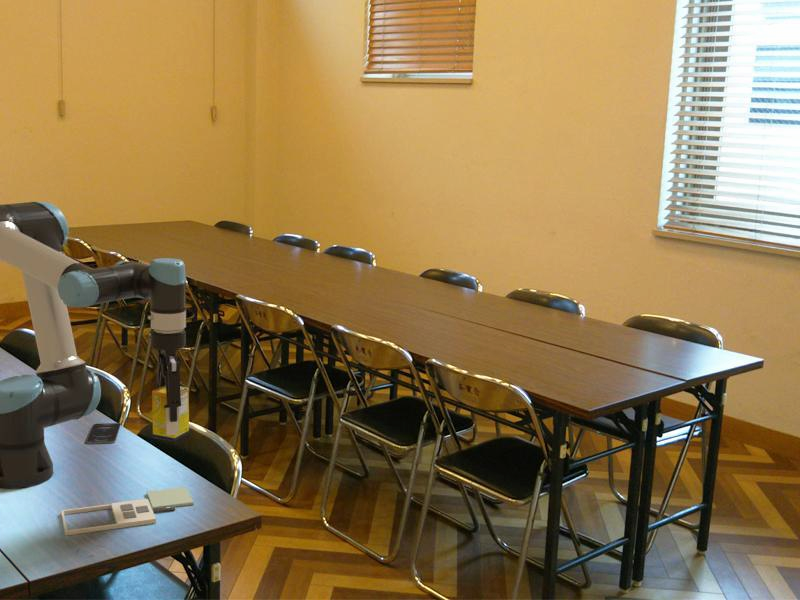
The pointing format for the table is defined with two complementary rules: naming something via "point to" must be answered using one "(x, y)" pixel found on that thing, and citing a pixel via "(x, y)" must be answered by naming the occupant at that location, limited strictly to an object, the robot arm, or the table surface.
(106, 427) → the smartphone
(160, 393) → the supplement box
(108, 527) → the white rectangular frame panel
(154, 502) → the mat
